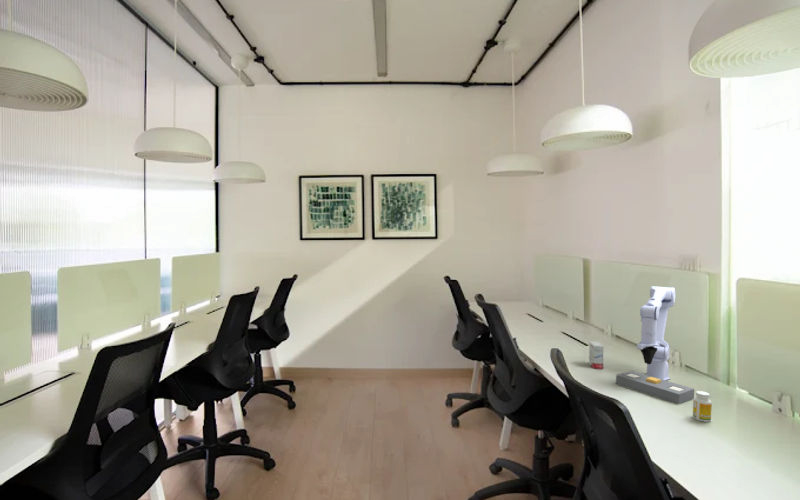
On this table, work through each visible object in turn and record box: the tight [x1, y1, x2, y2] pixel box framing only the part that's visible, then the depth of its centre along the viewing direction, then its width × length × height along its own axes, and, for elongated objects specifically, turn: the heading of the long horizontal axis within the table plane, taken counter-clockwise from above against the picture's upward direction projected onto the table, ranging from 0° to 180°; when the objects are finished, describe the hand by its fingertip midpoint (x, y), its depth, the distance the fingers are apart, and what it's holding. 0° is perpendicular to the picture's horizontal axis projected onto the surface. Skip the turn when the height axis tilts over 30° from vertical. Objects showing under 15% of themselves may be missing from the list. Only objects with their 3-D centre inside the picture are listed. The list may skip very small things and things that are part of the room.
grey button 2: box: [670, 386, 684, 391], centre depth 169 cm, size 4×4×4 cm
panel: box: [615, 370, 695, 405], centre depth 176 cm, size 12×26×4 cm, turn 30°
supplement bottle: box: [692, 390, 713, 423], centre depth 149 cm, size 5×5×10 cm
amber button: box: [646, 377, 661, 384], centre depth 176 cm, size 4×4×4 cm
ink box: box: [588, 341, 604, 370], centre depth 209 cm, size 9×5×12 cm, turn 168°
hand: (647, 363), depth 181 cm, fingers closed
